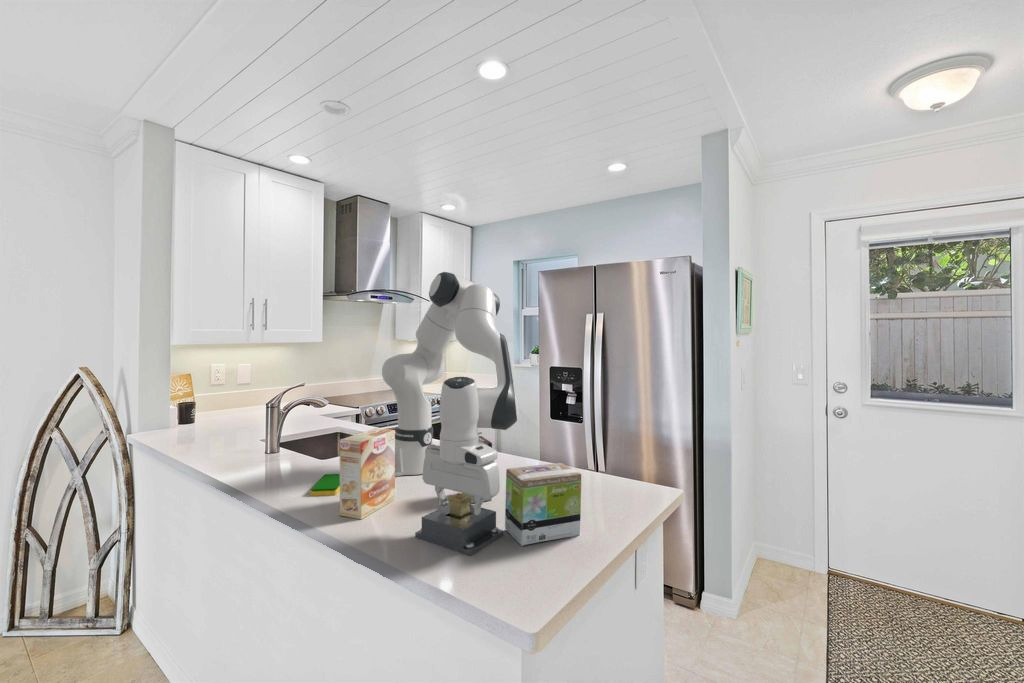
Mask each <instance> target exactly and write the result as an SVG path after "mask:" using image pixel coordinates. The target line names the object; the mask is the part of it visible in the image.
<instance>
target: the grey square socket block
mask: <svg viewBox="0 0 1024 683" xmlns="http://www.w3.org/2000/svg"><path fill="white" fill-rule="evenodd" d="M474 505H475V504H470V515H469V516H467V517H465V518H464V519H462V520H459V519H456V518H452V517H450V503H448V505H446V506H442V507H441V508H438V509H436V510H434V511H431V512H429V513H427V514H426V515H423V516H421V528H420V529H419V530H418V531H415V533H414V534H415V535H414V537H415V538H417V539H419V540H422V541H426V542H429V543H432V544H434V545H438V546H441V547H443V548H446V549H449V550H453V551H456V552H458V553H461V554H464V555H467V556H472V555H475V554H476V553H478V552H479V551H481V550H482V549H484V548H485V547H486V546H488V545H490V544H491V543H493V542H494V541H496V540H497V539H499V538H500V537H502V536H504V530H503V529H500V528H499V527H497V511H496V510H492V509H488V508H485V507H481V513H480V514H479V515H473V514H471V506H474Z"/></svg>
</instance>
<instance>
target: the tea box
mask: <svg viewBox="0 0 1024 683" xmlns="http://www.w3.org/2000/svg"><path fill="white" fill-rule="evenodd" d="M505 472H506V474H505V475H506V478H505V503H504V504H505V505H504V506H505V510H504V513H505V515H504V529H505V530H506V531H507V533H508V534H509V535H510V536H511V537H513V539H515V541H516V542H517V543H518V544H519V545H520V546H521V547H524V546H528V545H531V544H536V543H541V542H542V543H543V542H547V541H553V540H559V539H566V538H567V539H568V538H572V537H578V536H580V534H581V533H580V532H581V516H582V514H581V511H582V504H581V503H582V473H580V472H578V471H577V470H575V469H574V468H571V467H569V466H568V465H566V464H564V463H563V462H555V463H547V464H539V465H538V464H537V465H529V466H521V467H520V466H519V467H511V468H506V471H505Z"/></svg>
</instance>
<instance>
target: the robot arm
mask: <svg viewBox="0 0 1024 683" xmlns="http://www.w3.org/2000/svg"><path fill="white" fill-rule="evenodd" d="M428 297H429V299H430V302H432V303H431V304H430V306H429V308H428V309H427V311H426V313H425V314H424V317H423V318H422V320H421V322H420V324H419V326H418V327H417V329H416V331H415V337H416V340H417V346H416V348H415V349H414V351H413V352H411V353H399V354H397V355H395V356H391V357H389V358H387V359H386V360H385V361H384V363H383V364H382V367H381V377H382V379H383V382H385V384H386V385H388V386H389V387H390V389H391V390H392V392H393V395H394V397H395V400H396V406H397V407H396V408H397V427H395V428H392V429H391V430H395V477H399V476H400V477H401V476H415V475H422V481H423V483H424V484H426V485H428V486H429V485H430V486H434V491H435V493H436V495H437V497H438V505H439V506H442V507H444V506H446V505H448V504H450V501H448V497H449V496H447V494H446V492H445V490H449V491H452V492H453V491H454V492H457V493H462V494H463V493H465V494H469V495H473V496H474V500H475V501H476V503H474V504H473V505H474V506H471V514H473V515H479V514H480V513H481V508H482V507H481V506H482V504H483V503H484V502H485V501H484V500H485V499H490V498H492V499H493V498H494V497H496V496H497V495H498V494H499V492H500V487H501V486H500V483H501V482H500V470H499V466H498V464H497V462H496V460H497V459H498V450H496V448H495V449H494V448H493V447H492V448H491V447H489V446H488V445H486V444H484V443H483V442H482V441H480V440H479V436H480V434H479V431H478V428H482V429H494V430H501V431H506V430H507V431H508V429H510V428H511V427H512V426H514V425H515V424H516V423H517V422H518V420H519V414H520V406H519V401H518V396H517V394H516V390H515V388H514V377H513V371H512V363H511V356H510V352H509V346H508V341H507V338H506V336H505V335H504V334H502V333H500V332H499V331H498V328H497V325H496V324H497V323H496V322H497V320H496V319H497V318H496V317H497V316H498V314H499V310H500V308H501V307H500V306H501V302H500V298H499V296H498V295H497V294H496V293H494V292H493V290H492V289H491V288H490V287H489V286H487V285H484V284H482V283H481V284H480V283H477V282H474V281H470V280H468V279H466V278H464V277H461V276H458V275H456V274H454V273H452V272H447V271H443V272H439V273H438V274H437V275H435V277H434V279H433V280H432V281H431V284H430V287H429V292H428ZM454 335H455V337H456V340H457V341H458V343H459V344H460V345H461V346H462V347H463V348H464V349H466V350H468V351H470V352H471V353H474V354H477V355H481V356H482V357H485V358H487V359H489V360H491V361H492V362H494V365H495V371H496V377H497V386H495V387H492V388H491V387H490V388H489V387H488V388H487V387H485V388H483V387H482V388H479V387H478V388H477V383H476V381H475V379H473V378H472V377H468V376H454V377H450V378H447V379H445V380H444V381H443V383H442V386H441V390H440V392H441V393H440V401H439V420H440V424H441V426H440V427H441V429H440V433H439V445H437V444H434V443H433V438H434V427H433V425H432V417H433V416H432V413H433V412H432V403H431V400H429V399H428V398H427V397H426V395H425V394H424V389H423V385H428V384H429V385H430V384H432V383H433V382H435V381H438V380H439V379H441V377H442V376H443V374H444V372H445V362H444V356H445V353H446V350H447V348H448V345H449V344H450V343H451V340H452V339H453V337H454Z"/></svg>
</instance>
